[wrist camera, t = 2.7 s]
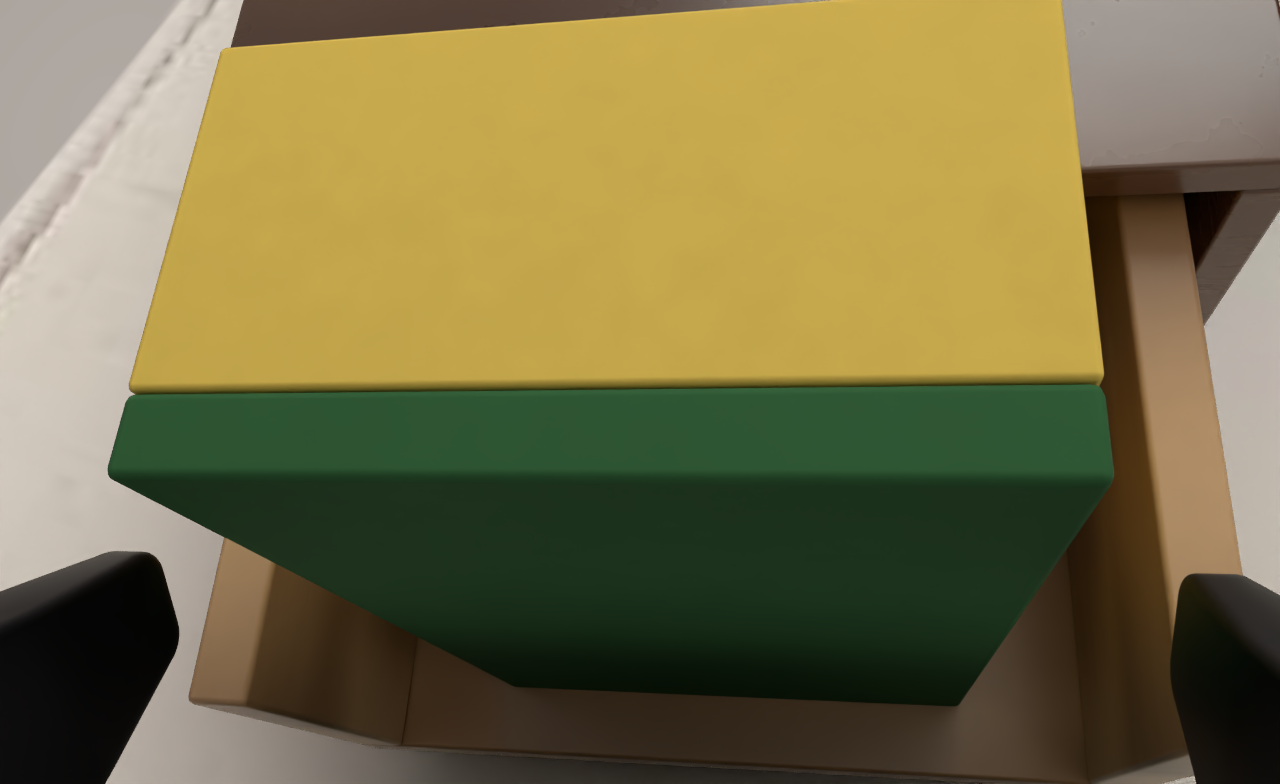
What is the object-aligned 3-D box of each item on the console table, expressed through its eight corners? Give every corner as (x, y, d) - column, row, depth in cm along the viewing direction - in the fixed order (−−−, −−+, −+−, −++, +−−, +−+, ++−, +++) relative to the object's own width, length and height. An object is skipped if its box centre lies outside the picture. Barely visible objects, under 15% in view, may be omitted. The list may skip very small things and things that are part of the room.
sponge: (960, 707, 16) (1119, 484, 6) (510, 687, 17) (99, 478, 8) (947, 455, 18) (1061, -21, 8) (536, 454, 19) (219, 44, 9)
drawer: (1231, 1338, 13) (1495, 1671, 8) (280, 1199, 16) (-21, 1378, 10) (1088, 131, 21) (1174, -136, 15) (449, 165, 23) (323, -53, 18)
